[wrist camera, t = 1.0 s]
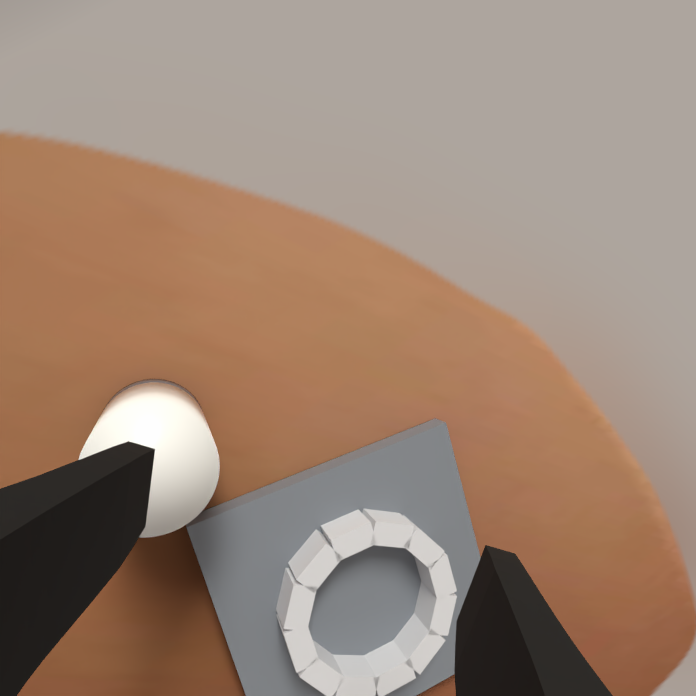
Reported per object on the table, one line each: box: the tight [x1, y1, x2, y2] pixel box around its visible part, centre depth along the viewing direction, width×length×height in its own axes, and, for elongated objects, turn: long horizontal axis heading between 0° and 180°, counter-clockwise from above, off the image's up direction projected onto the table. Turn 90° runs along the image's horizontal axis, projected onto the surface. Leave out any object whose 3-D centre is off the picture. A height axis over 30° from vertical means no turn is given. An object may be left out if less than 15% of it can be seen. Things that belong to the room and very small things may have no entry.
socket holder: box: [186, 418, 481, 696], centre depth 24 cm, size 12×12×2 cm
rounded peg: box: [79, 379, 220, 538], centre depth 19 cm, size 4×4×6 cm
